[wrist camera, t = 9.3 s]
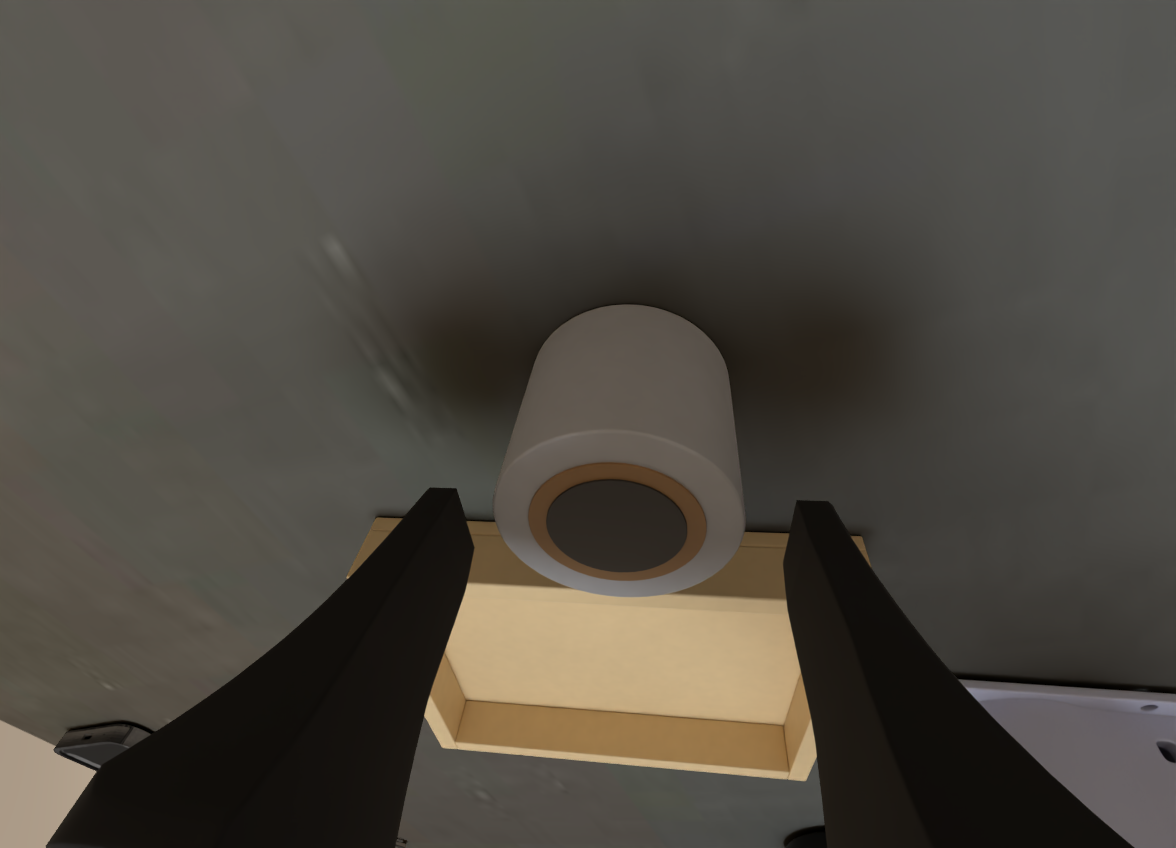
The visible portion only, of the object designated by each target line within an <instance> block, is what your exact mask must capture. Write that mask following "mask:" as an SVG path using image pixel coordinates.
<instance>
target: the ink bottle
mask: <svg viewBox="0 0 1176 848" xmlns="http://www.w3.org/2000/svg"><path fill="white" fill-rule="evenodd" d="M786 848H827V840H826V831H822V832H814V833H808V834H804V835H801V836H799V837H797V838H795V839H793V840H792V841H790V842H789V843H788V844H787V846H786Z"/></svg>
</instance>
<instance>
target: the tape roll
mask: <svg viewBox="0 0 1176 848" xmlns="http://www.w3.org/2000/svg"><path fill="white" fill-rule="evenodd" d="M493 513H494V519H495V522H496V525H497V528H498V531H499V533H500V534H501V536H502V538H503V540H504V541H505V543H506V544H507V545H508V547H509V548H510V549H511V551H512V552H513V553H514V554H515V555H516V556H517V557H518V558H519V559H521V560H522V561H523V562H524V563H525V564H527V565H528V566H529V567H531V568H532V569H534V570H535V571H537V572H538V573H540V574H541V575H543V576H545V577H547V578H549V579H551V580H553V581H555V582H558V583H560V584H562V585H565V586H568V587H571V588H574V589H577V590H580V591H584V592H588V593H593V594H599V595H605V596H614V597H650V596H657V595H664V594H668V593H673V592H677V591H680V590H683V589H686V588H689V587H692V586H694V585H696V584H698V583H701V582H703V581H704V580H706V579H708V578H710V577H711V576H713V575H714V574H716V573H717V572H718V571H720V570H721V569H722V568H723V567H724V566H725V565H726V564H727V563H728V562H729V561H730V560H731V559H732V557H733V556H734V554H735V553H736V552H737V550H738V548H739V546H740V544H741V542H742V539H743V536H744V532H745V525H746V514H745V506H744V498H743V489H742V481H741V473H740V464H739V456H738V448H737V440H736V431H735V423H734V415H733V406H732V398H731V390H730V382H729V375H728V370H727V367H726V364H725V361H724V359H723V357H722V355H721V353H720V351H719V350H718V348H717V347H716V346H715V344H714V343H713V342H712V340H711V339H710V338H709V337H708V336H707V335H706V334H705V333H704V332H703V331H701V330H700V329H699V328H697V327H696V326H695V325H694V324H692V323H691V322H689V321H687V320H685V319H684V318H682V317H680V316H678V315H675V314H673V313H671V312H668V311H665V310H662V309H658V308H655V307H649V306H643V305H630V304H624V305H611V306H606V307H600V308H596V309H593V310H590V311H587V312H584V313H582V314H580V315H578V316H576V317H574V318H572V319H570V320H569V321H567V322H566V323H564V324H563V325H561V326H560V327H559V328H558V329H557V330H555V331H554V332H553V333H552V334H551V335H550V337H549V338H548V339H547V340H546V341H545V343H544V344H543V346H542V347H541V349H540V351H539V353H538V355H537V358H536V360H535V363H534V366H533V369H532V372H531V375H530V379H529V382H528V385H527V388H526V391H525V395H524V398H523V401H522V404H521V407H520V410H519V414H518V417H517V420H516V423H515V426H514V429H513V433H512V436H511V439H510V442H509V445H508V449H507V452H506V455H505V458H504V461H503V464H502V468H501V471H500V474H499V477H498V480H497V484H496V487H495V491H494V495H493Z"/></svg>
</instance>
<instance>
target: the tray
mask: <svg viewBox="0 0 1176 848" xmlns="http://www.w3.org/2000/svg"><path fill="white" fill-rule="evenodd" d="M402 519H403V518H380V517H377V518H376V519H375V521H374V523H373V525H372V527H371V531H369V533H368V535H367V537H366V539H365V541H364V543H363V545H362V547H361V549H360V551H359V553H358V555H357V557H356V559H355V561H354V563H353V565H352V567H351V569H350V571H349V573H348V575H347V579H348V578H349V577H350V576H351V575H352V574H353V573H354V572H355V571H356V570H357V569H358V568H359V567H360V566H361V565H362V563H363V562H364V561H365V560H366V559H367V558H368V557H369V556H370V555H371V554H372V553H373V551H374V550H375V549H376V548H377V547H378V546H379V545H380V544H381V543H382V542H383V540H384V539H385V538H386V537H387V536H388V535H389V534H390V533H391V531H392V530H393V529H394V528H395V527H396V526H397V525H398V523H399V522H400V521H401V520H402ZM467 524H468V528H469V531H470V534H471V537H472V541H473V544H474V547H475V549H474V553H473V558H472V563H471V568H470V573H469V578H468V582H467V586H466V591H465V594H464V597H463V600H462V603H461V606H460V609H459V612H458V615H457V617H456V620H455V623H454V626H453V629H452V632H451V635H450V638H449V640H448V643H447V646H446V649H445V652H444V655H443V658H442V660H441V663H440V666H439V669H438V672H437V675H436V678H435V680H434V683H433V686H432V690H431V693H430V696H429V699H428V703H427V706H426V710H425V714H424V716H425V718H426V720H427V721H428V723H429V725H430V727H431V728H432V730H433V732H434V734H435V735H436V737H437V739H438V741H439V743H440V744H441V746H442V748H450V749H462V750H473V751H483V752H494V753H505V754H516V755H527V756H538V757H549V758H560V759H571V760H581V761H592V762H603V763H614V764H625V765H636V766H647V767H658V768H669V769H679V770H690V771H701V772H712V773H723V774H734V775H745V776H756V777H767V778H777V779H789V780H798V781H806V779H807V777H808V775H809V773H810V770H811V768H812V766H813V764H814V761H815V759H816V757H817V753H816V745H815V738H814V732H813V727H812V721H811V716H810V711H809V707H808V702H807V697H806V693H805V688H804V684H803V679H802V675H801V670H800V666H799V661H798V657H797V652H796V648H795V643H794V638H793V634H792V629H791V624H790V620H789V615H788V610H787V601H786V592H785V581H784V570H783V559H784V555H785V551H786V546H787V542H788V537H789V533H764V532H744V536H743V539H742V542H741V544H740V546H739V548H738V550H737V552H736V553H735V554H734V556H733V557H732V559H731V560H730V561H729V562H728V563H727V564H726V565H725V566H724V567H723V568H722V569H721V570H720V571H718V572H717V573H716V574H714V575H713V576H711V577H710V578H708V579H706V580H704V581H703V582H701V583H698V584H696V585H694V586H692V587H689V588H686V589H683V590H680V591H677V592H673V593H668V594H664V595H657V596H650V597H614V596H605V595H599V594H593V593H588V592H584V591H580V590H577V589H574V588H571V587H568V586H565V585H562V584H560V583H558V582H555V581H553V580H551V579H549V578H547V577H545V576H543V575H541V574H540V573H538V572H537V571H535V570H534V569H532V568H531V567H529V566H528V565H527V564H525V563H524V562H523V561H522V560H521V559H519V558H518V557H517V556H516V555H515V554H514V553H513V552H512V551H511V549H510V548H509V547H508V545H507V544H506V543H505V541H504V540H503V538H502V536H501V534H500V533H499V531H498V528H497V525H496V522H482V521H467ZM851 537H852V539H853V541H854V542H855V544H856V545H857V547H858V548H859V550H860V552H861V553H862V555H863V556H864V558H865V559H866V561H867V562H868V564H869V565H870V567H871V564H870V561H869V558H868V554H867V552H866V548H865V545H864V542H863V539H862V537H861V536H851ZM871 568H872V567H871Z"/></svg>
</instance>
